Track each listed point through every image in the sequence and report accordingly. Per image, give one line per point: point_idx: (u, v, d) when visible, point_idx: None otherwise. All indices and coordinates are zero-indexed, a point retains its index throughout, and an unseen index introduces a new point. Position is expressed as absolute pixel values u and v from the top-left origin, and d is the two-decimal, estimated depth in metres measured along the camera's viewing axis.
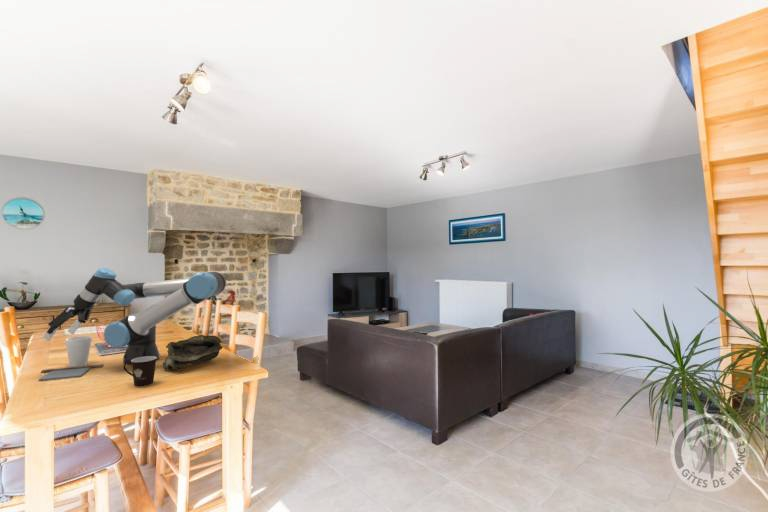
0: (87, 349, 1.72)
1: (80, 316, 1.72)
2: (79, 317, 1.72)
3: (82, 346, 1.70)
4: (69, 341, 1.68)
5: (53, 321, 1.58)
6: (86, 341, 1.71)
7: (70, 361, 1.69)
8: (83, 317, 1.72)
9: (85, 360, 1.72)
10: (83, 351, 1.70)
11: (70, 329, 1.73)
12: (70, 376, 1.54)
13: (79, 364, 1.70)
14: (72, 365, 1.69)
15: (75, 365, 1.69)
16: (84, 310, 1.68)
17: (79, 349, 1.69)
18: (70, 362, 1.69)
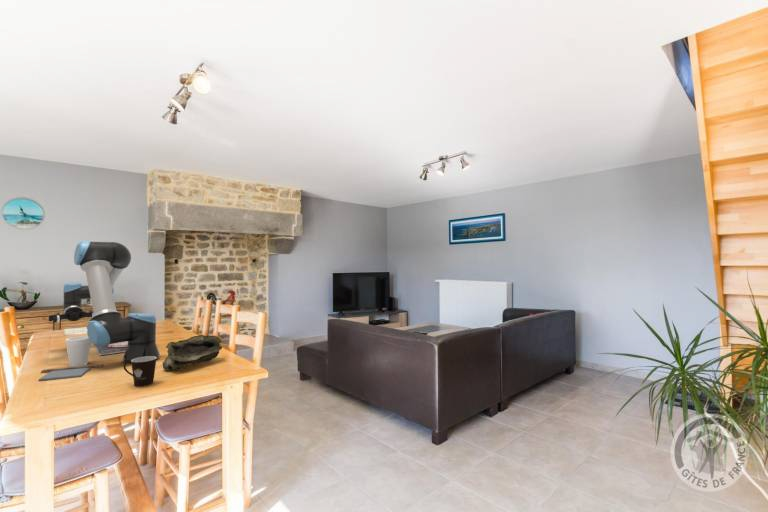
0: (87, 349, 1.72)
1: (86, 314, 1.90)
2: (89, 315, 1.90)
3: (82, 346, 1.70)
4: (69, 341, 1.68)
5: None
6: (86, 341, 1.71)
7: (70, 361, 1.69)
8: (89, 312, 1.90)
9: (85, 360, 1.72)
10: (83, 351, 1.70)
11: None
12: (70, 376, 1.54)
13: (79, 364, 1.70)
14: (72, 365, 1.69)
15: (75, 365, 1.69)
16: (76, 310, 1.91)
17: (79, 349, 1.69)
18: (70, 362, 1.69)
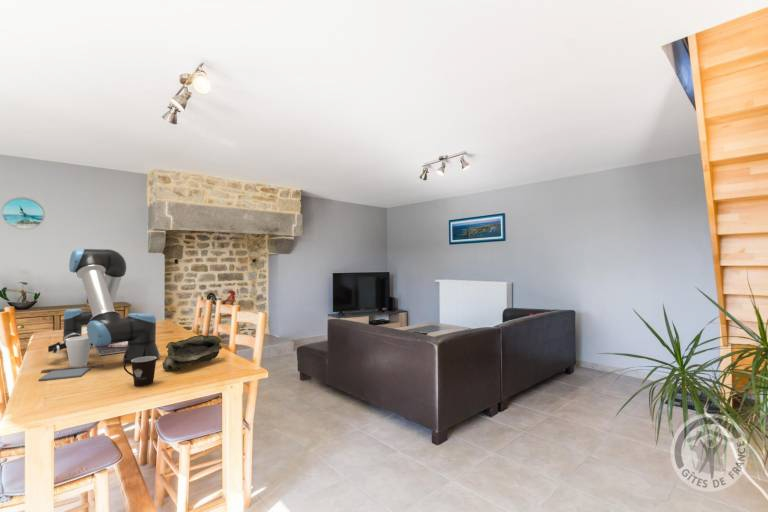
0: (87, 349, 1.72)
1: None
2: None
3: (82, 346, 1.70)
4: (69, 341, 1.68)
5: None
6: (86, 341, 1.71)
7: (70, 361, 1.69)
8: None
9: (85, 360, 1.72)
10: (83, 351, 1.70)
11: (93, 347, 1.81)
12: (70, 376, 1.54)
13: (79, 364, 1.70)
14: (72, 365, 1.69)
15: (75, 365, 1.69)
16: None
17: (79, 349, 1.69)
18: (70, 362, 1.69)
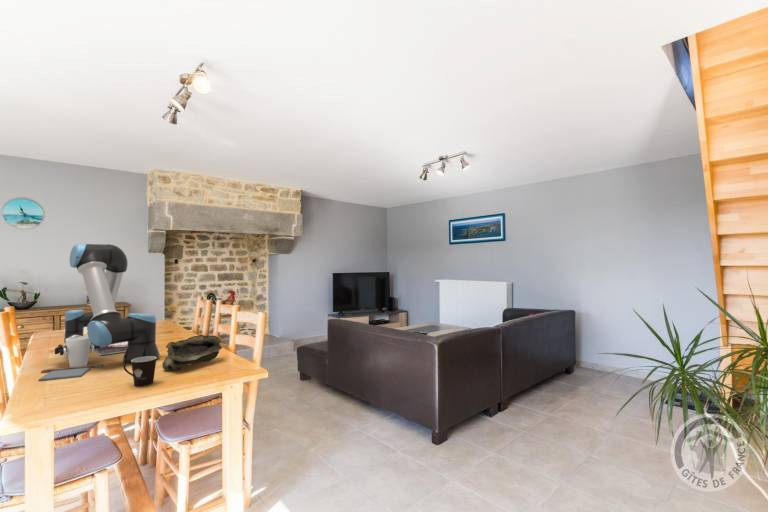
0: (87, 349, 1.72)
1: None
2: None
3: (82, 346, 1.70)
4: (69, 341, 1.68)
5: None
6: (86, 341, 1.71)
7: (70, 361, 1.69)
8: None
9: (85, 360, 1.72)
10: (83, 351, 1.70)
11: (91, 350, 1.73)
12: (70, 376, 1.54)
13: (79, 364, 1.70)
14: (72, 365, 1.69)
15: (75, 365, 1.69)
16: None
17: (79, 349, 1.69)
18: (70, 362, 1.69)
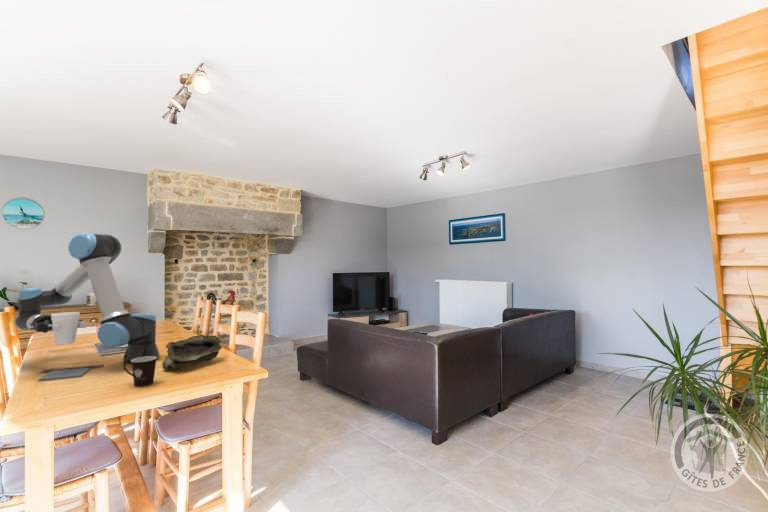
0: (77, 325, 1.62)
1: None
2: None
3: (74, 321, 1.60)
4: (60, 316, 1.56)
5: (36, 329, 1.55)
6: (77, 316, 1.61)
7: (59, 338, 1.57)
8: None
9: (75, 336, 1.62)
10: (74, 327, 1.60)
11: (81, 326, 1.63)
12: (70, 376, 1.54)
13: (70, 340, 1.59)
14: (62, 342, 1.57)
15: (65, 342, 1.58)
16: None
17: (71, 324, 1.59)
18: (58, 338, 1.57)
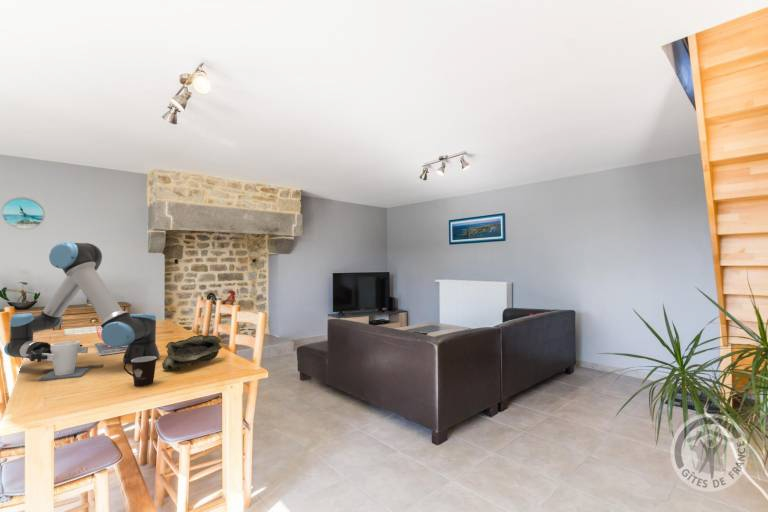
0: None
1: None
2: None
3: (74, 351, 1.58)
4: (61, 346, 1.54)
5: (30, 358, 1.51)
6: (78, 345, 1.59)
7: (59, 368, 1.55)
8: None
9: (74, 366, 1.59)
10: (74, 356, 1.58)
11: (83, 351, 1.63)
12: (70, 376, 1.54)
13: (70, 371, 1.57)
14: (62, 372, 1.55)
15: (66, 372, 1.56)
16: (48, 346, 1.62)
17: (71, 354, 1.57)
18: (58, 369, 1.55)
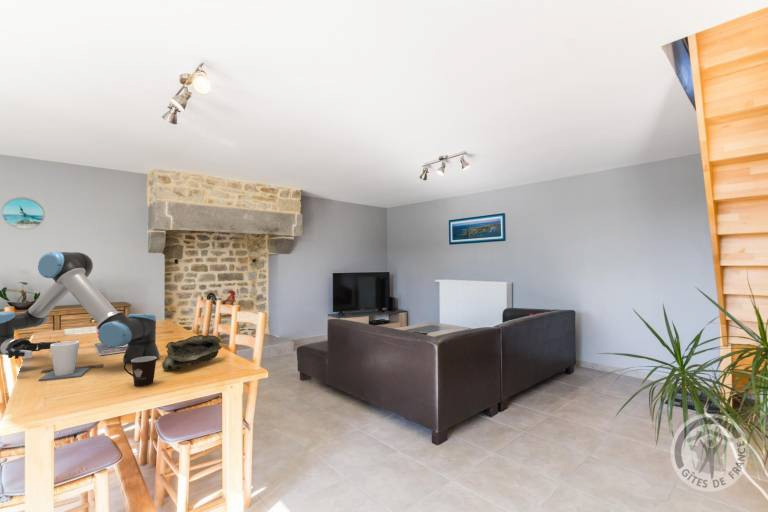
0: (76, 354, 1.60)
1: (45, 346, 1.68)
2: None
3: (74, 351, 1.58)
4: (60, 346, 1.54)
5: (8, 355, 1.55)
6: (77, 345, 1.59)
7: (59, 368, 1.55)
8: (48, 343, 1.69)
9: (74, 366, 1.59)
10: (74, 356, 1.58)
11: None
12: (70, 376, 1.54)
13: (70, 371, 1.57)
14: (62, 373, 1.55)
15: (66, 372, 1.56)
16: (28, 343, 1.66)
17: (71, 354, 1.57)
18: (58, 369, 1.55)
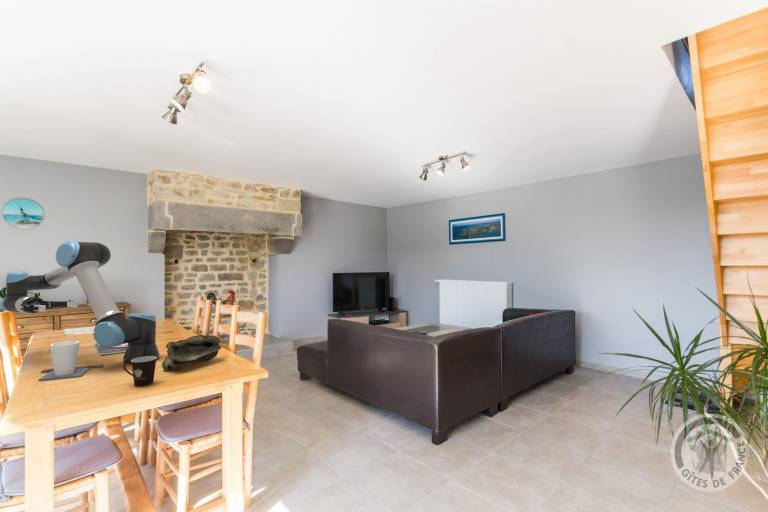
0: (76, 354, 1.60)
1: (57, 304, 1.78)
2: (61, 305, 1.79)
3: (74, 351, 1.58)
4: (60, 346, 1.54)
5: (23, 309, 1.64)
6: (77, 345, 1.59)
7: (59, 368, 1.55)
8: (59, 302, 1.79)
9: (74, 366, 1.59)
10: (74, 356, 1.58)
11: (74, 306, 1.77)
12: (70, 376, 1.54)
13: (70, 371, 1.57)
14: (62, 373, 1.55)
15: (66, 372, 1.56)
16: (41, 301, 1.76)
17: (71, 354, 1.57)
18: (58, 369, 1.55)
